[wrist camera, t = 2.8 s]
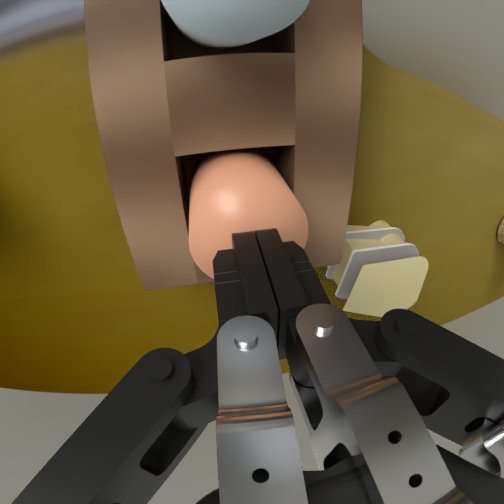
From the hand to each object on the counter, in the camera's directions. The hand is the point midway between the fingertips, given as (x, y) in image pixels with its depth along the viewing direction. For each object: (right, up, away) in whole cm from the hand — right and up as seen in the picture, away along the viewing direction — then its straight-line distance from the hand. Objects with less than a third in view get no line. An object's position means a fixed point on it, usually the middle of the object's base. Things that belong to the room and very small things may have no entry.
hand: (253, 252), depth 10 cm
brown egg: (-1, +3, +4) cm, 6 cm away
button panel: (-2, +12, +1) cm, 13 cm away
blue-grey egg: (-1, +11, -1) cm, 11 cm away
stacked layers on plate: (+9, +1, +13) cm, 16 cm away
